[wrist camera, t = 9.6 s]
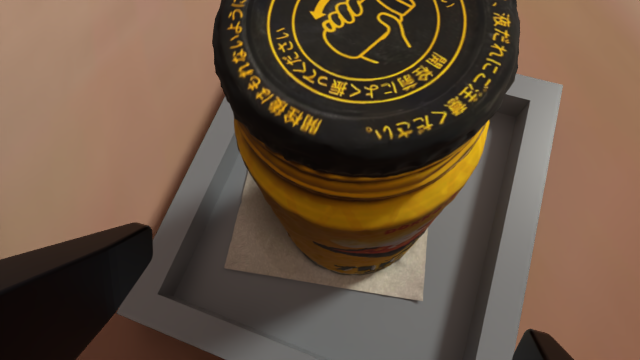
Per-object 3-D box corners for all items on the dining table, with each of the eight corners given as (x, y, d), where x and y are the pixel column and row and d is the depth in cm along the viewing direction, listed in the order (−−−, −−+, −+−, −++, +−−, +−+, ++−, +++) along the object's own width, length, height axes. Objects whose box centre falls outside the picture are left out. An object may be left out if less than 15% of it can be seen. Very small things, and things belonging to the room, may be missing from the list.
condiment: (421, 301, 16) (600, 251, 5) (225, 268, 17) (-13, 163, 6) (434, 142, 18) (571, -141, 7) (260, 121, 19) (142, -156, 8)
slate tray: (473, 452, 15) (492, 472, 13) (141, 314, 17) (116, 313, 15) (541, 108, 19) (562, 85, 17) (273, 39, 22) (266, 12, 20)
